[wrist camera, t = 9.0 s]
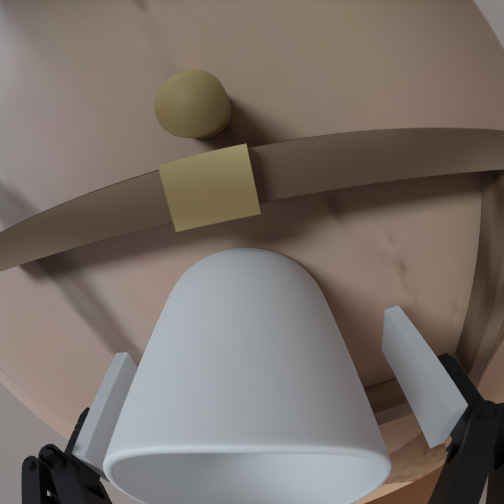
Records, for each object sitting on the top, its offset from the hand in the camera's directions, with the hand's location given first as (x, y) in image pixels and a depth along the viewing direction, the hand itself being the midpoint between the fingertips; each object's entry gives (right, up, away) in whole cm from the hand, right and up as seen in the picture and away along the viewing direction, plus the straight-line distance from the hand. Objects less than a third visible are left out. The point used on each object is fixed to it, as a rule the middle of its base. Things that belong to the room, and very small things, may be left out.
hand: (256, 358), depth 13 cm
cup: (-1, 0, +3) cm, 3 cm away
